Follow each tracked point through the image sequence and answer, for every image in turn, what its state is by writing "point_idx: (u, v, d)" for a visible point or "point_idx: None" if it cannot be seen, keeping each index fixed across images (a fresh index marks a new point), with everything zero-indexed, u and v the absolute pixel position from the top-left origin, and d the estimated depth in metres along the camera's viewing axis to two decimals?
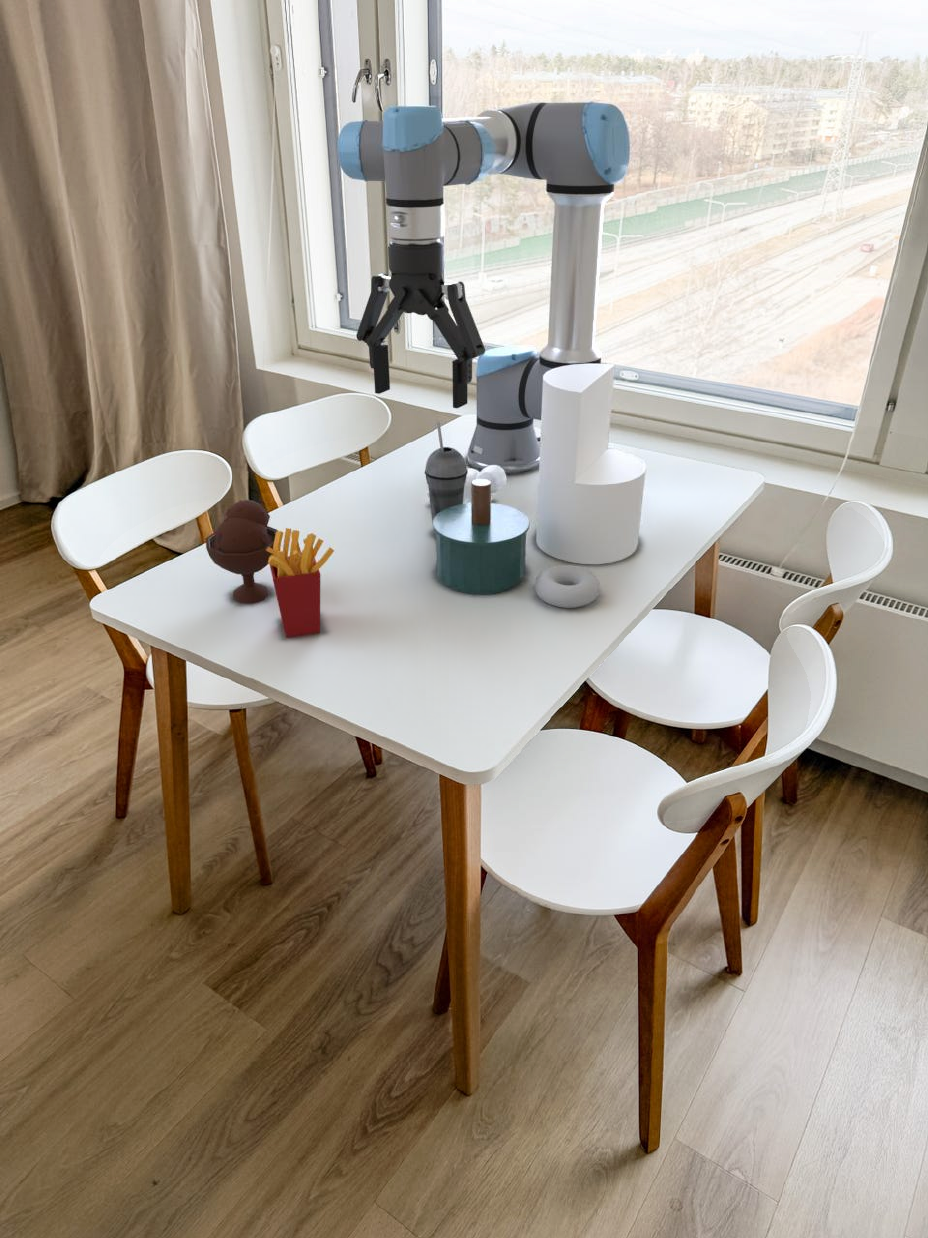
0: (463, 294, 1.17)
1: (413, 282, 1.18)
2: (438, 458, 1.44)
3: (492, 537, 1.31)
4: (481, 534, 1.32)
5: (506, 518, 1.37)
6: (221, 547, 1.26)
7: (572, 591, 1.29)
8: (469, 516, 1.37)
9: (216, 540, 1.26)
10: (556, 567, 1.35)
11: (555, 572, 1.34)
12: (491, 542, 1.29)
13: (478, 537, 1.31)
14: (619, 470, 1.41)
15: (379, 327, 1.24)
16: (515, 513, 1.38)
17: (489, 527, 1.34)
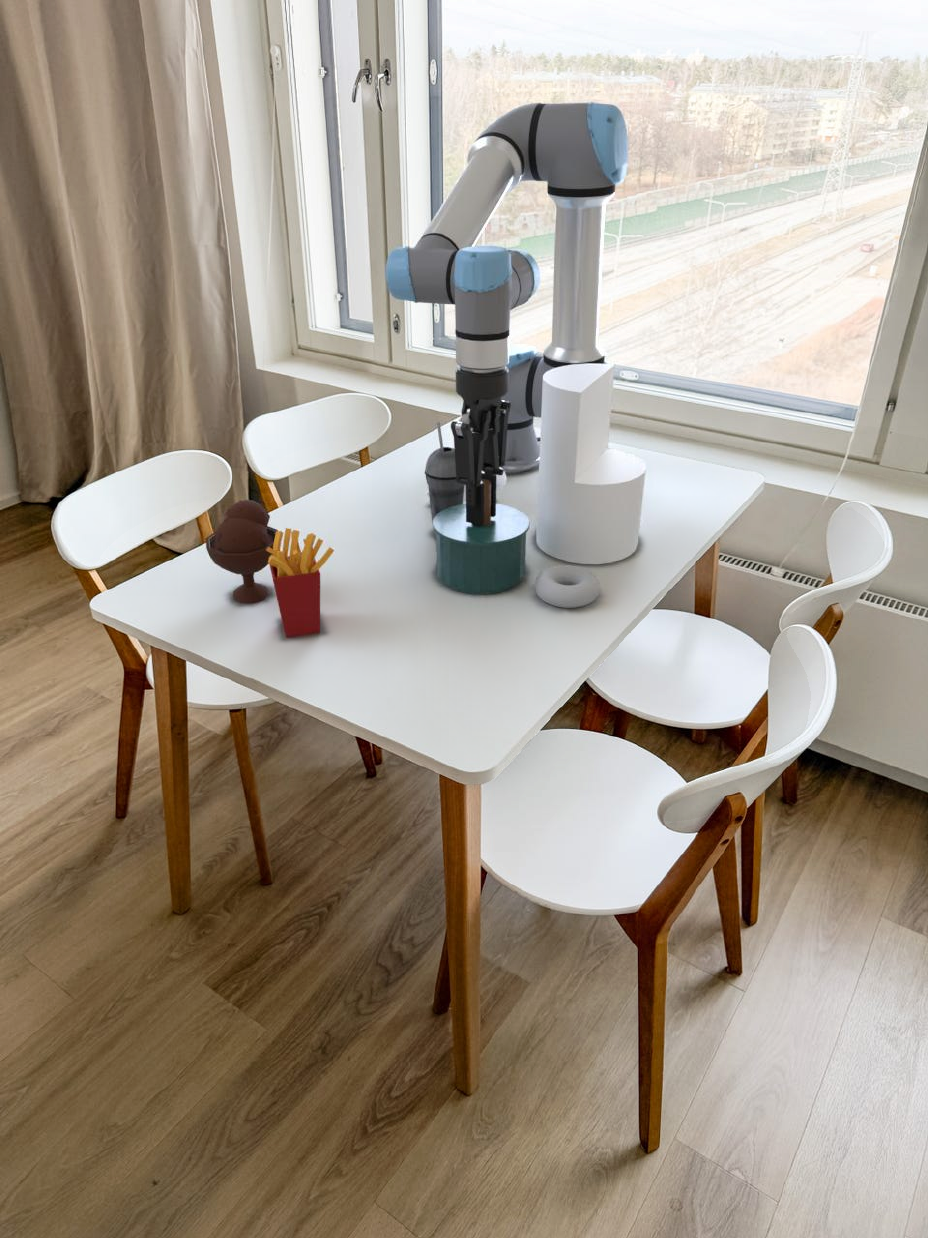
0: (464, 435, 1.23)
1: None
2: (438, 458, 1.44)
3: (492, 537, 1.31)
4: (481, 534, 1.32)
5: (506, 518, 1.37)
6: (221, 547, 1.26)
7: (573, 591, 1.29)
8: None
9: (216, 540, 1.26)
10: (556, 567, 1.35)
11: (555, 572, 1.34)
12: (491, 542, 1.29)
13: (478, 537, 1.31)
14: (619, 470, 1.41)
15: None
16: (515, 513, 1.38)
17: (489, 527, 1.34)
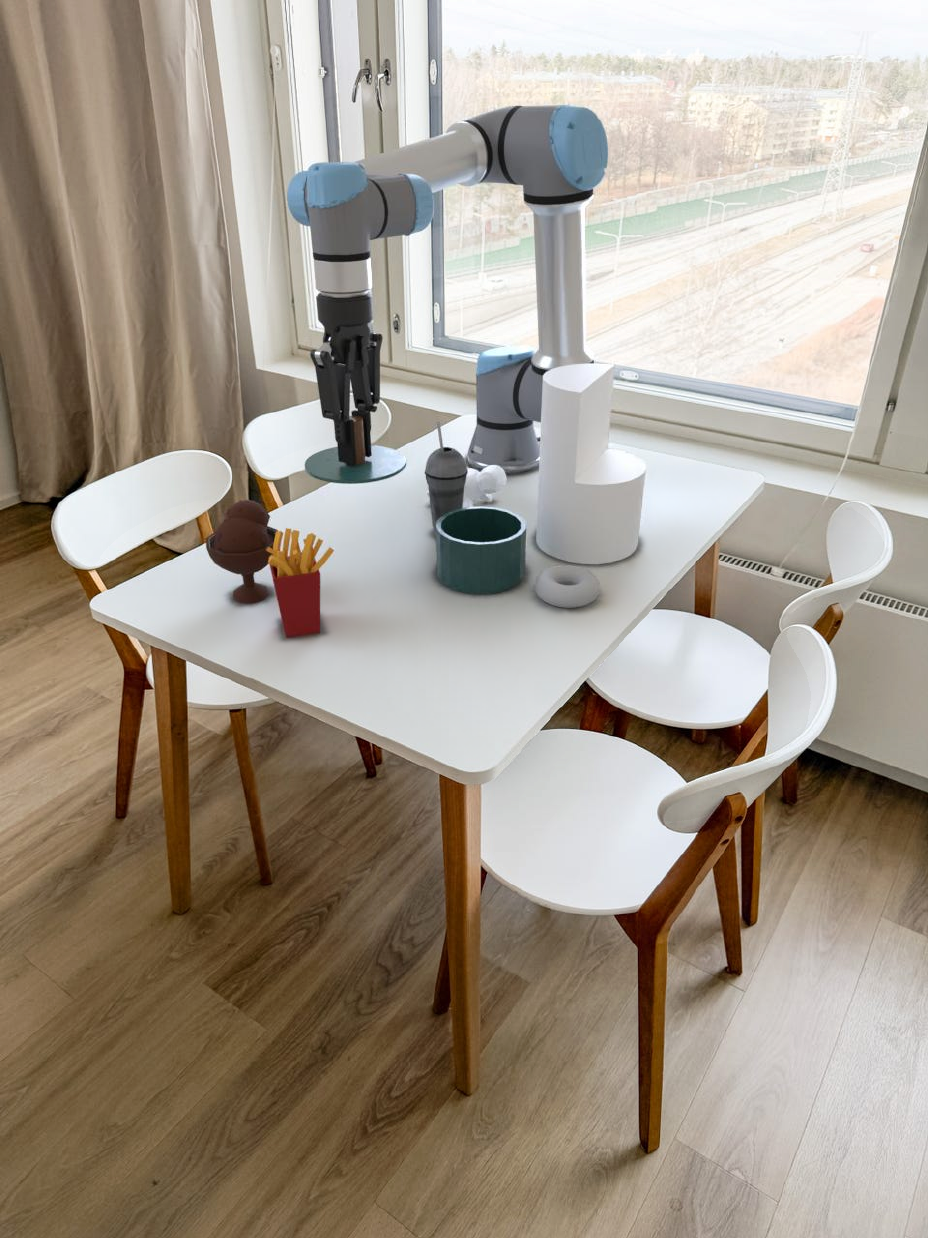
0: (324, 364, 1.17)
1: None
2: (438, 458, 1.44)
3: (362, 475, 1.25)
4: (352, 473, 1.26)
5: (383, 458, 1.31)
6: (221, 547, 1.26)
7: (573, 591, 1.29)
8: None
9: (216, 540, 1.26)
10: (556, 567, 1.35)
11: (555, 572, 1.34)
12: (360, 480, 1.23)
13: (348, 475, 1.25)
14: (619, 470, 1.41)
15: None
16: (394, 454, 1.32)
17: (362, 466, 1.28)
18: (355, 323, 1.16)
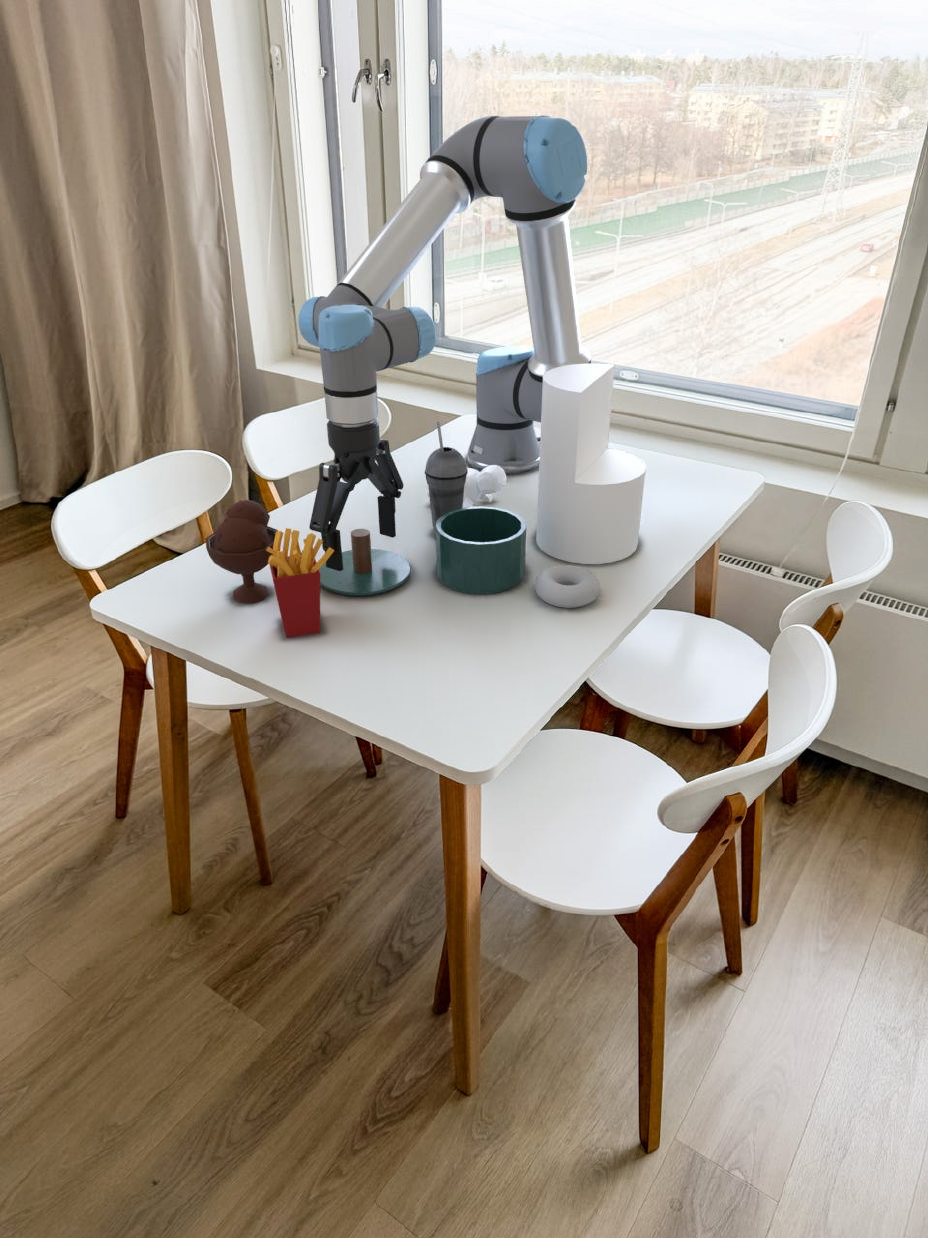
0: (329, 477, 1.24)
1: None
2: (438, 458, 1.44)
3: (369, 586, 1.34)
4: (359, 583, 1.35)
5: (388, 566, 1.40)
6: (221, 547, 1.26)
7: (573, 591, 1.29)
8: (353, 564, 1.41)
9: (216, 540, 1.26)
10: (556, 567, 1.35)
11: (555, 572, 1.34)
12: (367, 592, 1.33)
13: (356, 586, 1.34)
14: (619, 470, 1.41)
15: None
16: (398, 560, 1.42)
17: (369, 576, 1.37)
18: (363, 450, 1.25)
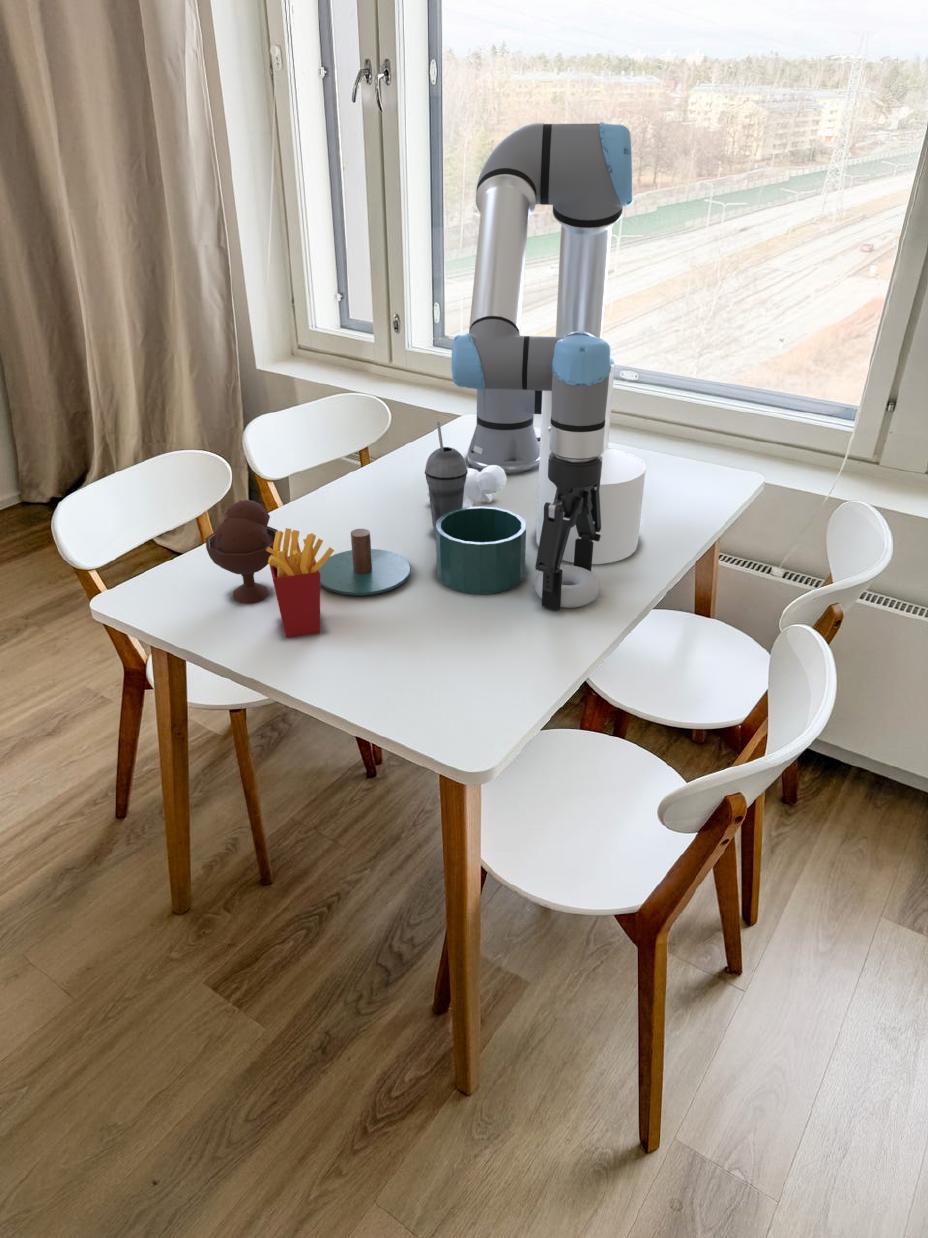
0: (556, 517, 1.20)
1: None
2: (438, 458, 1.44)
3: (369, 586, 1.34)
4: (359, 583, 1.35)
5: (388, 566, 1.40)
6: (221, 547, 1.26)
7: (573, 591, 1.29)
8: (353, 564, 1.41)
9: (216, 540, 1.26)
10: None
11: None
12: (367, 592, 1.33)
13: (356, 586, 1.34)
14: (619, 470, 1.41)
15: None
16: (398, 560, 1.42)
17: (369, 576, 1.37)
18: (588, 485, 1.21)
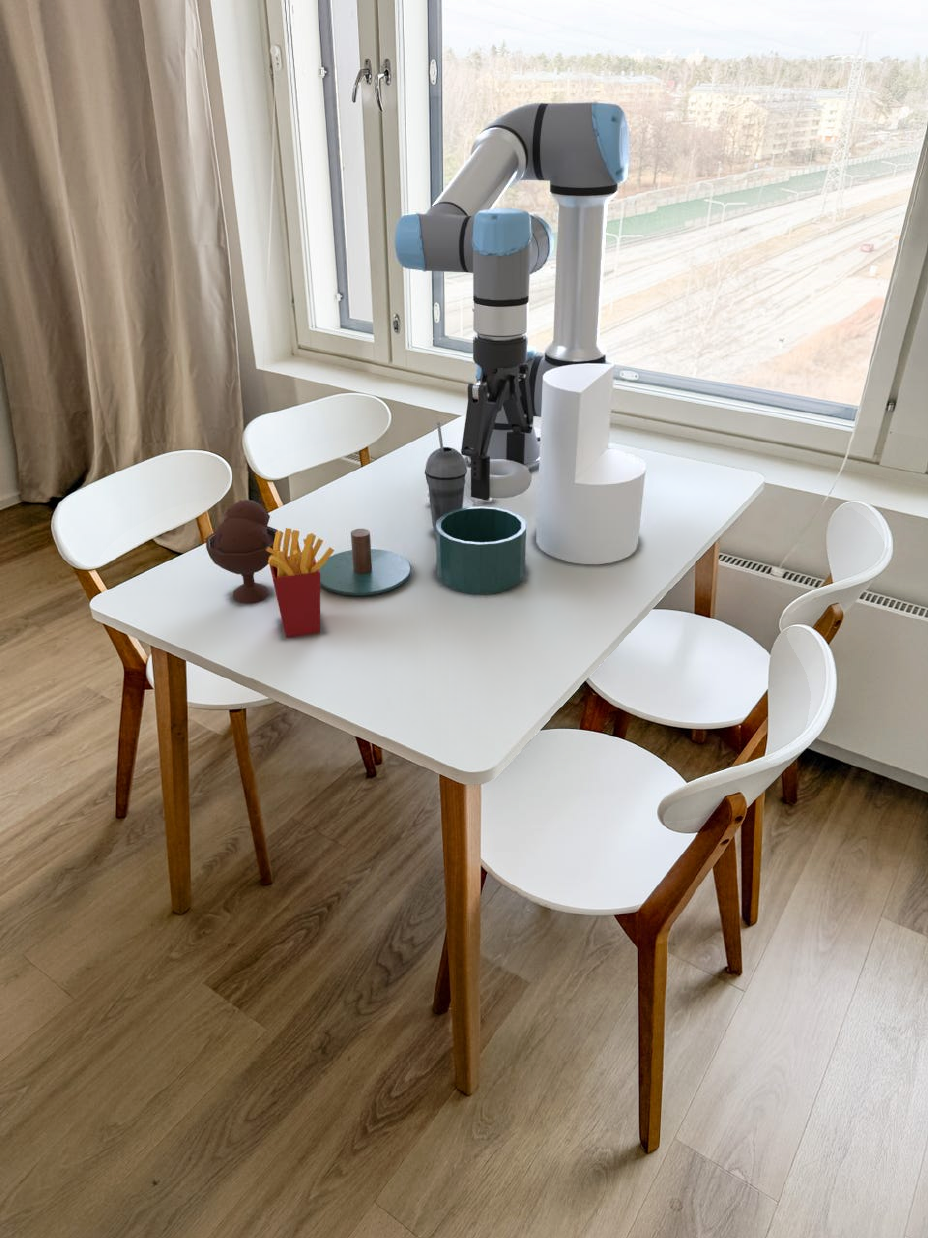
0: (480, 398, 1.18)
1: None
2: (438, 458, 1.44)
3: (369, 586, 1.34)
4: (359, 583, 1.35)
5: (388, 566, 1.40)
6: (221, 547, 1.26)
7: (502, 480, 1.26)
8: (353, 564, 1.41)
9: (216, 540, 1.26)
10: None
11: None
12: (367, 592, 1.33)
13: (356, 586, 1.34)
14: (619, 470, 1.41)
15: None
16: (398, 560, 1.42)
17: (369, 576, 1.37)
18: (513, 365, 1.19)
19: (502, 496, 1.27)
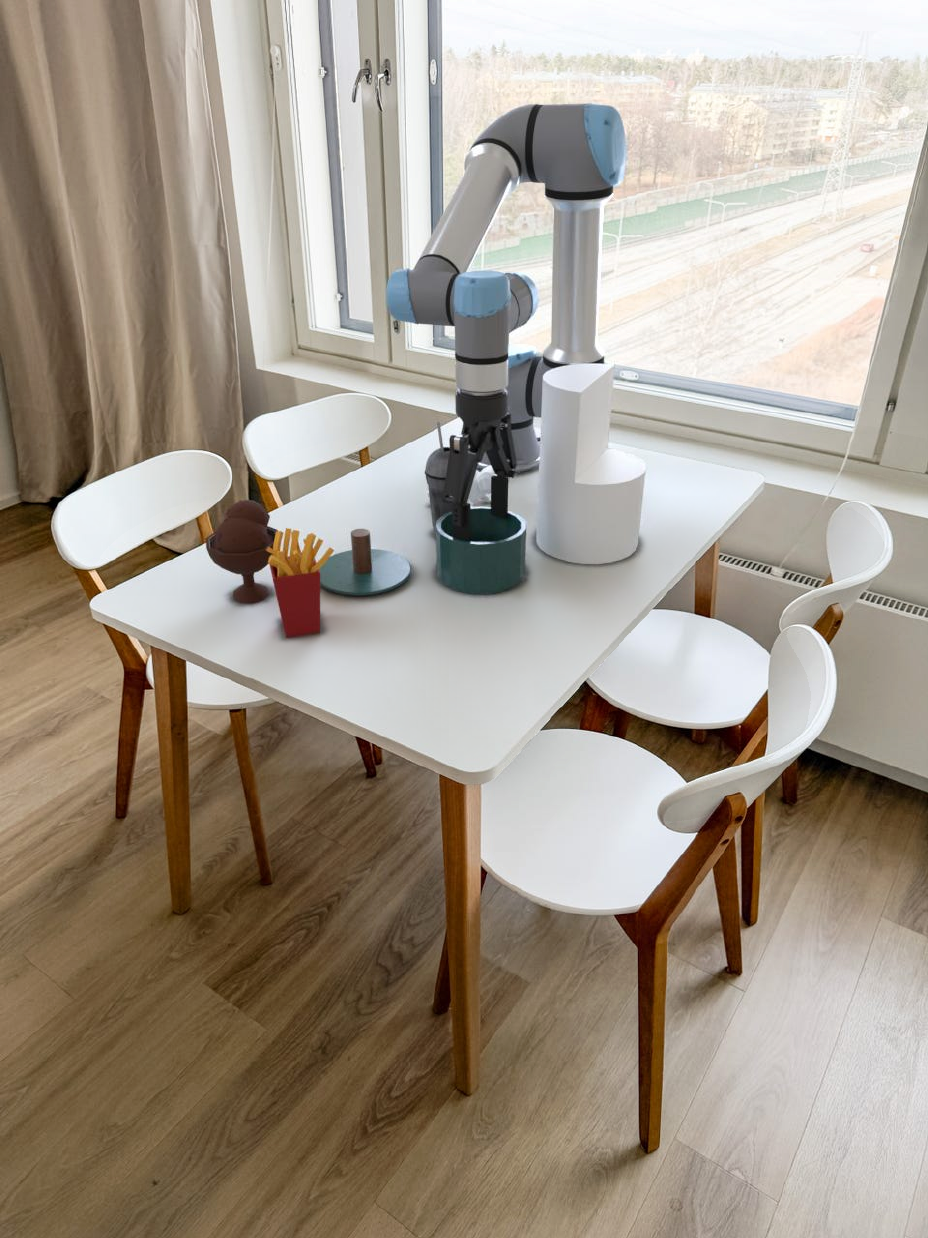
0: (461, 449, 1.23)
1: None
2: (438, 458, 1.44)
3: (369, 586, 1.34)
4: (359, 583, 1.35)
5: (388, 566, 1.40)
6: (221, 547, 1.26)
7: None
8: (353, 564, 1.41)
9: (216, 540, 1.26)
10: None
11: None
12: (367, 592, 1.33)
13: (356, 586, 1.34)
14: (619, 470, 1.41)
15: None
16: (398, 560, 1.42)
17: (369, 576, 1.37)
18: (493, 419, 1.24)
19: None
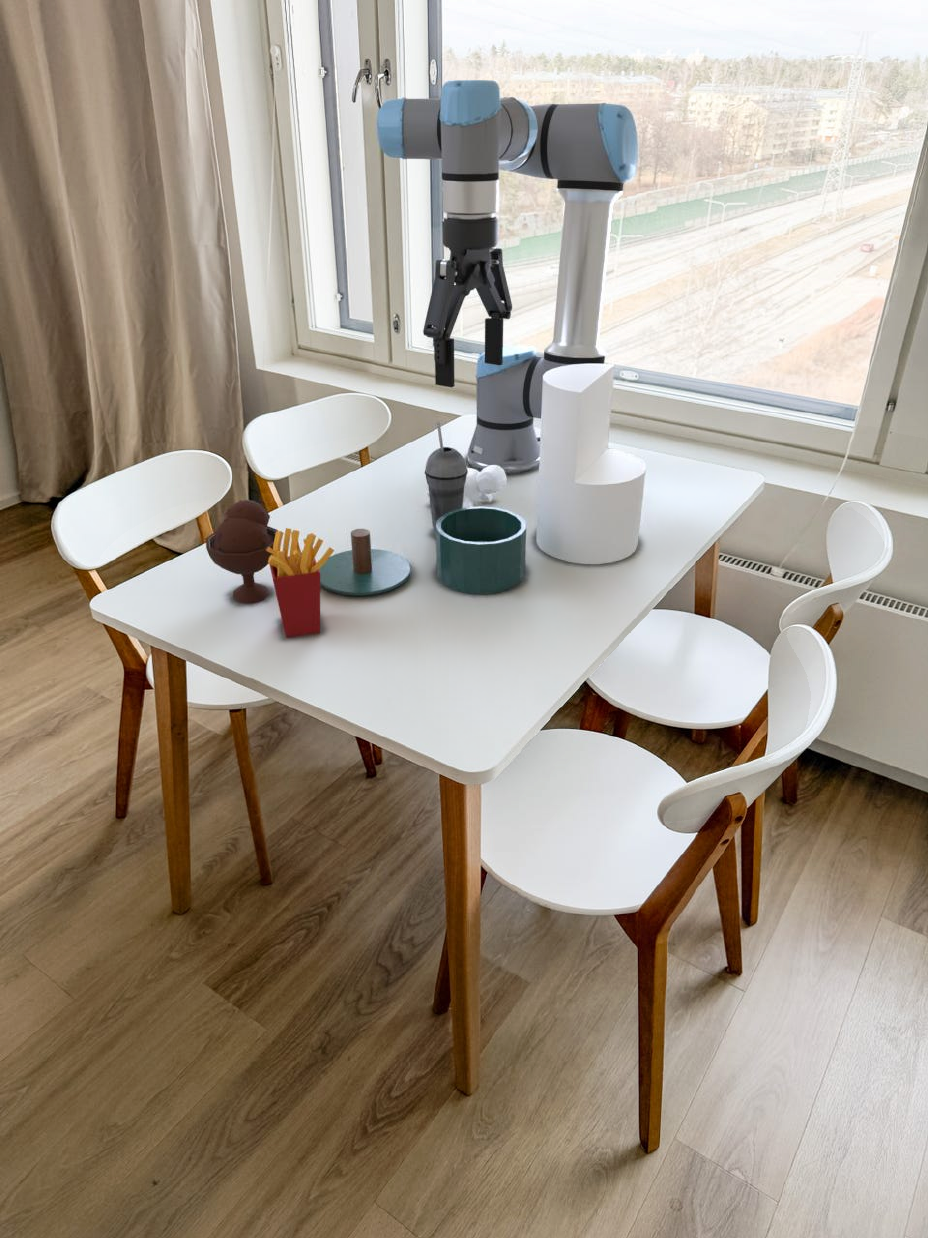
0: (447, 273, 1.15)
1: None
2: (438, 458, 1.44)
3: (369, 586, 1.34)
4: (359, 583, 1.35)
5: (388, 566, 1.40)
6: (221, 547, 1.26)
7: None
8: (353, 564, 1.41)
9: (216, 540, 1.26)
10: None
11: None
12: (367, 592, 1.33)
13: (356, 586, 1.34)
14: (619, 470, 1.41)
15: None
16: (398, 560, 1.42)
17: (369, 576, 1.37)
18: (483, 246, 1.16)
19: None
